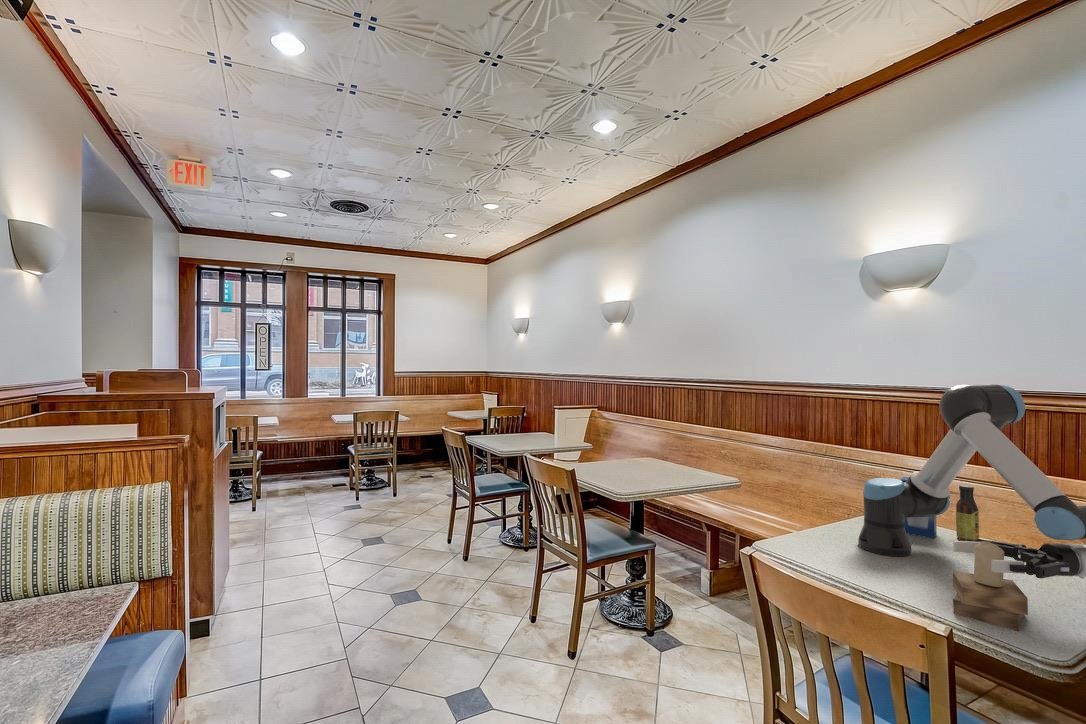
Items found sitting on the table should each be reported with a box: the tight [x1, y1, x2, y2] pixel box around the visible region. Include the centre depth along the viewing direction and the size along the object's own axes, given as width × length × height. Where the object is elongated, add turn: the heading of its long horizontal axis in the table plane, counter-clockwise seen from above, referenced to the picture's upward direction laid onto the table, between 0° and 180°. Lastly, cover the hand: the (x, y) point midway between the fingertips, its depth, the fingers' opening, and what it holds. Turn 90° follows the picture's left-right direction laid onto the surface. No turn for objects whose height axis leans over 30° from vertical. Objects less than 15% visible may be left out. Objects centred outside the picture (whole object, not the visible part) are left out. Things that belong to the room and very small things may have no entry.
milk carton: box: [900, 476, 938, 539], centre depth 191 cm, size 10×6×20 cm, turn 46°
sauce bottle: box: [955, 484, 980, 542], centre depth 181 cm, size 7×6×20 cm
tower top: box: [952, 570, 1029, 616], centre depth 127 cm, size 12×12×4 cm
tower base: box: [952, 593, 1025, 632], centre depth 127 cm, size 12×12×4 cm
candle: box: [973, 541, 1005, 587], centre depth 127 cm, size 6×6×10 cm
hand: (972, 555), depth 128 cm, fingers open, 13 cm apart
